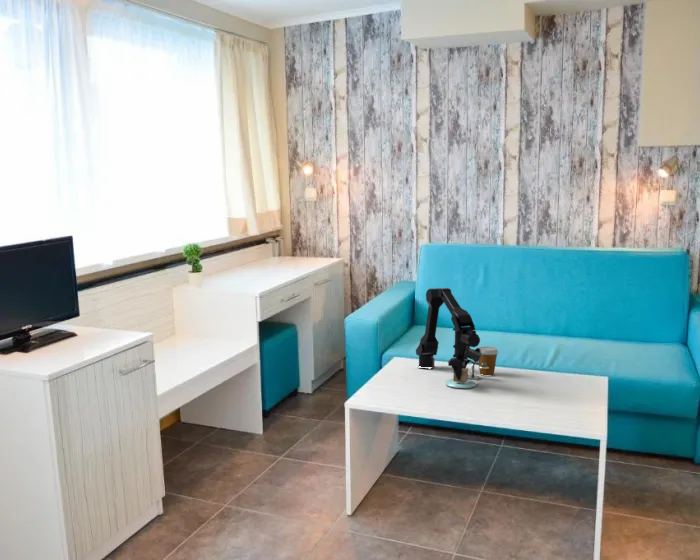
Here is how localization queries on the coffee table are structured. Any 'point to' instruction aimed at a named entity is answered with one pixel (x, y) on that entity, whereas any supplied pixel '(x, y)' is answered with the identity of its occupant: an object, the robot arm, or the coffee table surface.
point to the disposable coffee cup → (488, 359)
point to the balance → (472, 376)
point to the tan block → (463, 376)
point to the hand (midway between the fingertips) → (460, 378)
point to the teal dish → (460, 384)
